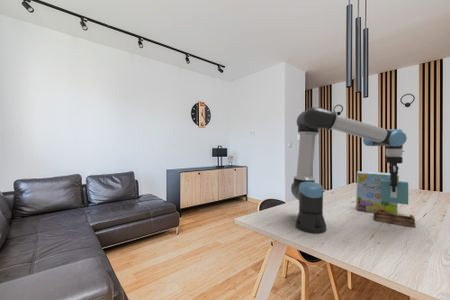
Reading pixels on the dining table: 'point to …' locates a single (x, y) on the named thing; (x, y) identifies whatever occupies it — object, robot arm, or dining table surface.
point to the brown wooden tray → (394, 219)
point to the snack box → (373, 193)
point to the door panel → (401, 192)
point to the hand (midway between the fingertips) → (393, 196)
